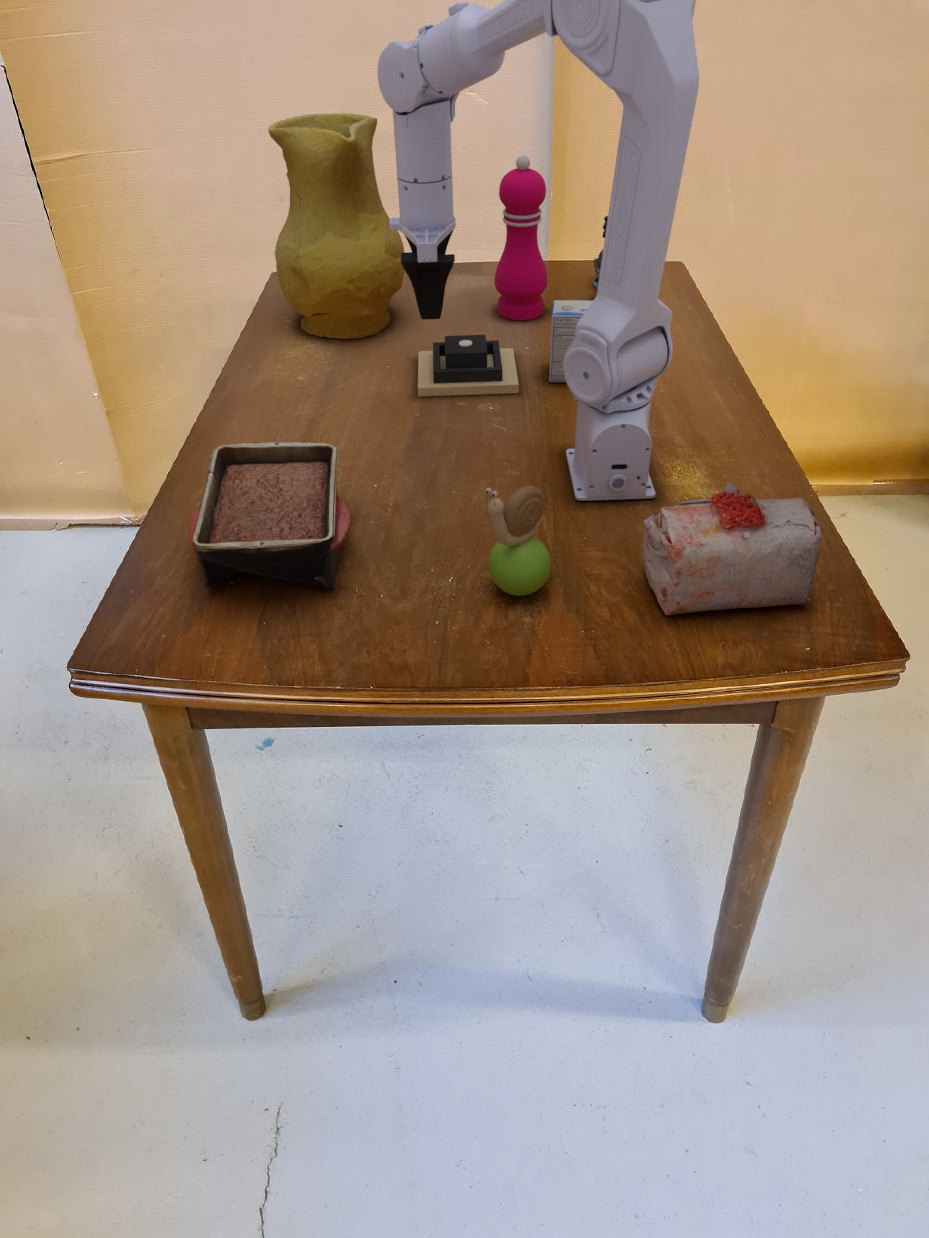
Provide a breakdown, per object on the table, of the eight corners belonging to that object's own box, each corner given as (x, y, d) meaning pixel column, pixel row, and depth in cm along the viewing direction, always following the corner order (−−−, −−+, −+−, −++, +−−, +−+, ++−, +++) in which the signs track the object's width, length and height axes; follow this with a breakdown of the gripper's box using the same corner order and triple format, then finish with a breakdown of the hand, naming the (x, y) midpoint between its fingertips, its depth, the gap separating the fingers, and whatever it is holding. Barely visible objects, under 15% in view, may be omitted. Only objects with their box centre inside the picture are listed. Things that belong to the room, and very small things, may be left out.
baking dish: (365, 520, 92) (349, 427, 87) (345, 613, 77) (324, 507, 72) (227, 533, 93) (202, 441, 88) (180, 627, 78) (147, 523, 73)
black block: (487, 375, 109) (487, 351, 107) (445, 377, 109) (445, 352, 107) (485, 357, 113) (485, 333, 111) (445, 359, 113) (444, 334, 111)
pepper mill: (487, 306, 128) (486, 151, 115) (535, 298, 130) (539, 145, 116) (504, 325, 123) (505, 166, 110) (554, 318, 124) (561, 160, 111)
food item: (654, 626, 76) (669, 531, 70) (633, 568, 82) (645, 475, 76) (813, 615, 77) (842, 519, 70) (781, 558, 83) (805, 465, 76)
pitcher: (275, 348, 118) (247, 133, 103) (291, 299, 133) (270, 105, 117) (406, 347, 119) (399, 133, 103) (409, 299, 133) (402, 106, 118)
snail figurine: (468, 594, 80) (464, 478, 72) (517, 562, 83) (519, 448, 76) (512, 622, 77) (514, 504, 69) (562, 588, 80) (569, 472, 73)
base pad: (518, 393, 108) (519, 372, 106) (418, 397, 108) (416, 376, 106) (512, 356, 116) (513, 336, 114) (419, 360, 116) (417, 339, 114)
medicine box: (613, 368, 113) (619, 300, 107) (614, 385, 109) (620, 315, 103) (549, 367, 113) (552, 298, 108) (548, 383, 110) (551, 314, 104)
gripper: (388, 157, 99) (397, 281, 108) (383, 198, 88) (393, 332, 97) (452, 155, 99) (456, 279, 108) (455, 196, 88) (459, 330, 97)
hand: (430, 304), depth 103 cm, fingers open, 7 cm apart
